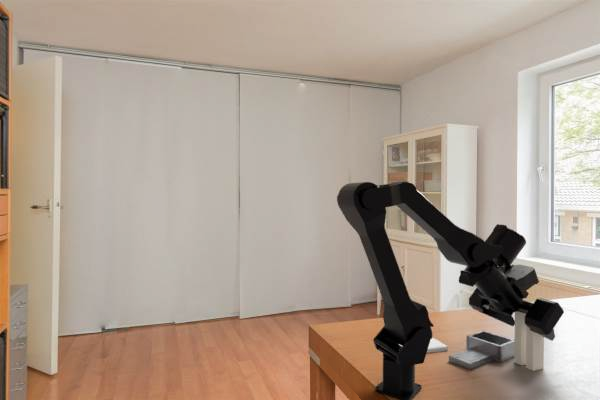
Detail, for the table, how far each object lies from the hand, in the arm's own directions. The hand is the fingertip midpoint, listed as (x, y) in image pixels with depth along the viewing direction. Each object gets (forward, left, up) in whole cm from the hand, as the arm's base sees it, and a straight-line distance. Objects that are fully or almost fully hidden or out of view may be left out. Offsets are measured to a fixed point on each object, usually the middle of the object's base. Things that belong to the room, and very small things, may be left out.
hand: (532, 331), depth 83 cm
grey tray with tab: (-2, +10, -7) cm, 12 cm away
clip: (-1, +1, -7) cm, 7 cm away
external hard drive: (-6, +23, -8) cm, 25 cm away
